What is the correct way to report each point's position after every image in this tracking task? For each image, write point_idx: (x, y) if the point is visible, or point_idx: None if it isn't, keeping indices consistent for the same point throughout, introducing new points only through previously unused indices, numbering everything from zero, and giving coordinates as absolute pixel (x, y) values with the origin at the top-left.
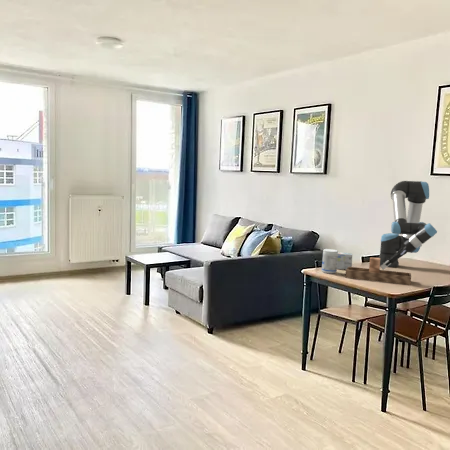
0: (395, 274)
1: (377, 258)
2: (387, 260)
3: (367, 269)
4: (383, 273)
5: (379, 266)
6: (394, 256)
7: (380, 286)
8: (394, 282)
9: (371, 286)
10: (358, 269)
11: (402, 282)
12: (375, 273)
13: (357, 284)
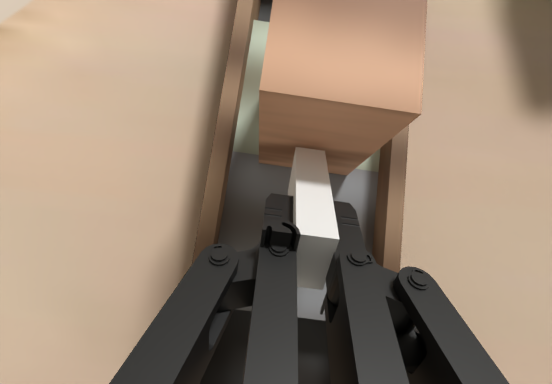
0: None
1: (356, 63)
2: (335, 223)
3: None
4: (375, 215)
5: (265, 133)
6: (145, 355)
7: (33, 166)
8: None
9: (12, 99)
10: None
11: None
12: (217, 119)
13: (52, 9)
